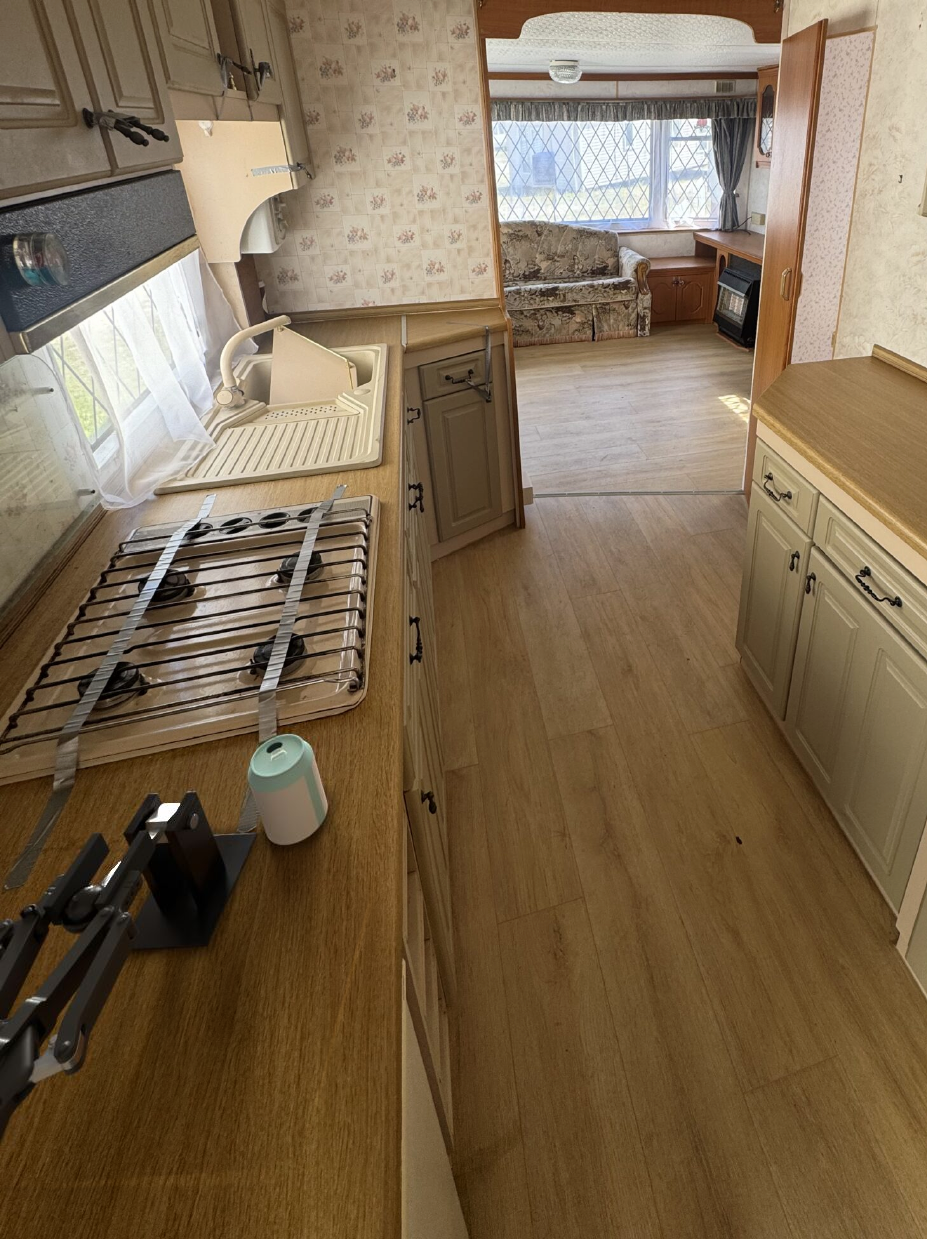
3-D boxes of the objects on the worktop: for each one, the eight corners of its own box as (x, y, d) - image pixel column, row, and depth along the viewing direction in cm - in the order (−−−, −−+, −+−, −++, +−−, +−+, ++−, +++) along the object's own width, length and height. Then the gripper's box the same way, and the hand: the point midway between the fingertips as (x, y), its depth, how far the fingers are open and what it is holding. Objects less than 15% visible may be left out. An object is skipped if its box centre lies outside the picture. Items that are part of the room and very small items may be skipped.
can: (254, 843, 79) (229, 774, 74) (292, 791, 85) (271, 724, 80) (305, 856, 78) (284, 787, 73) (340, 801, 84) (322, 734, 79)
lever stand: (210, 951, 69) (172, 868, 63) (121, 956, 68) (76, 873, 63) (260, 838, 80) (232, 759, 74) (184, 842, 79) (149, 763, 74)
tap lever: (95, 943, 57) (91, 904, 56) (51, 946, 56) (47, 907, 56) (192, 829, 71) (189, 797, 70) (157, 830, 71) (155, 799, 70)
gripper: (-212, 1238, 43) (49, 870, 64) (52, 1219, 44) (223, 861, 65) (-277, 1189, 40) (19, 819, 61) (8, 1169, 41) (203, 810, 62)
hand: (124, 841), depth 63 cm, fingers closed on tap lever, 4 cm apart
